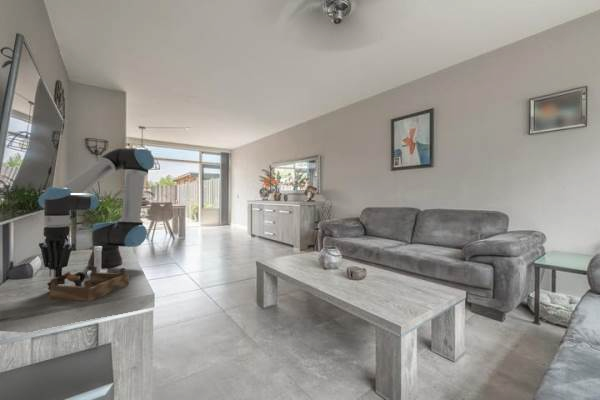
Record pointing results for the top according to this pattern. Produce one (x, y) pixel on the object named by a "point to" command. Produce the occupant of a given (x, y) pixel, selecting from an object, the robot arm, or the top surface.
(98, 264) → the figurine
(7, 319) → the top surface
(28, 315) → the top surface
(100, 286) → the brown wooden tray
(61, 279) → the broken pottery fragment
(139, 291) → the top surface
